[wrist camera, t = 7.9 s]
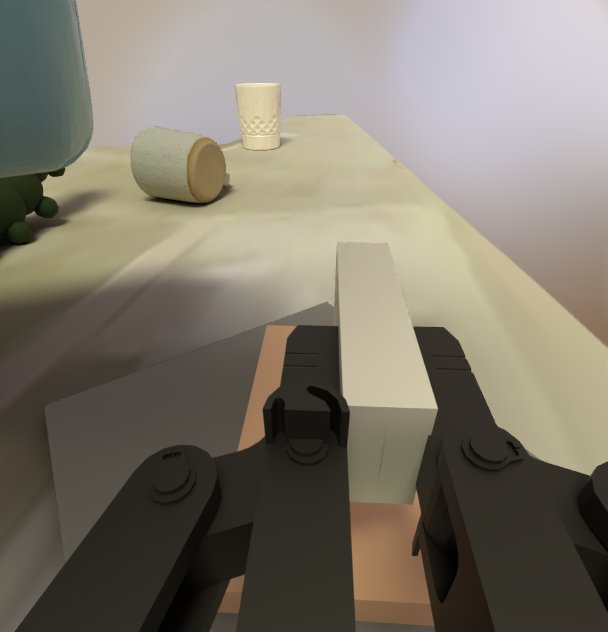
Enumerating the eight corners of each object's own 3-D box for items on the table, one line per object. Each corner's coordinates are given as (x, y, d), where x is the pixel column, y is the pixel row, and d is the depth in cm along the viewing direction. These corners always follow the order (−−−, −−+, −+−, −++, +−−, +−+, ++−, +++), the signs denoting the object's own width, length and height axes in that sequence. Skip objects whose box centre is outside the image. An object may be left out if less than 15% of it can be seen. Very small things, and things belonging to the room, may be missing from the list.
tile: (519, 609, 10) (423, 329, 20) (204, 590, 10) (266, 325, 20) (501, 633, 11) (418, 353, 21) (213, 614, 11) (268, 349, 21)
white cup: (261, 153, 67) (256, 86, 62) (231, 147, 72) (224, 84, 66) (291, 146, 72) (290, 84, 67) (262, 141, 77) (258, 82, 71)
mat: (50, 417, 18) (43, 405, 18) (326, 312, 25) (326, 302, 25) (221, 1599, 4) (210, 1685, 4) (725, 620, 11) (742, 609, 11)
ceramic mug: (197, 213, 42) (185, 135, 38) (137, 204, 44) (120, 130, 40) (246, 189, 50) (241, 123, 46) (193, 182, 53) (184, 119, 48)
